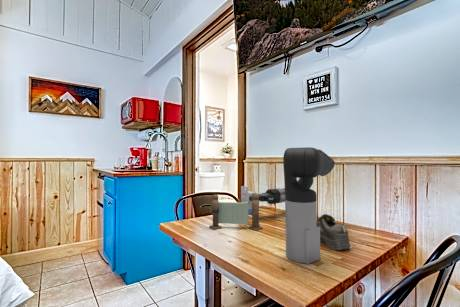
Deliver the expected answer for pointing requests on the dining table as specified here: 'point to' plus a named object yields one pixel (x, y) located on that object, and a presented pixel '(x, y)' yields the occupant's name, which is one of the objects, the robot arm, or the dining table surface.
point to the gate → (233, 213)
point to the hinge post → (255, 212)
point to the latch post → (215, 213)
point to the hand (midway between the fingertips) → (250, 198)
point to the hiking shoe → (333, 233)
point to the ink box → (246, 198)
